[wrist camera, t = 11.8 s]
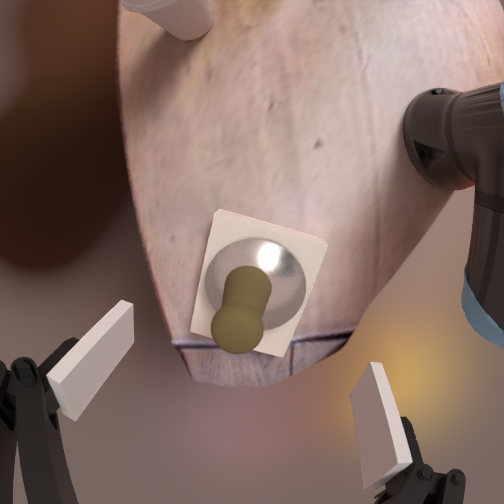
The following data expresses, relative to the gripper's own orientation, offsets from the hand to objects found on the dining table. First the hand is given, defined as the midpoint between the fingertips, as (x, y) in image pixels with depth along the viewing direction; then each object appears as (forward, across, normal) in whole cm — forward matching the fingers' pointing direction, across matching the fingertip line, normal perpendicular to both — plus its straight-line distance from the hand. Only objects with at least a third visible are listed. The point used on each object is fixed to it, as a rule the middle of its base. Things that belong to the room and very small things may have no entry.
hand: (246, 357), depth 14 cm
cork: (+21, +1, +6) cm, 22 cm away
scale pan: (+22, +1, +6) cm, 23 cm away
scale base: (+26, +1, +8) cm, 27 cm away
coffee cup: (+26, +18, -28) cm, 42 cm away
